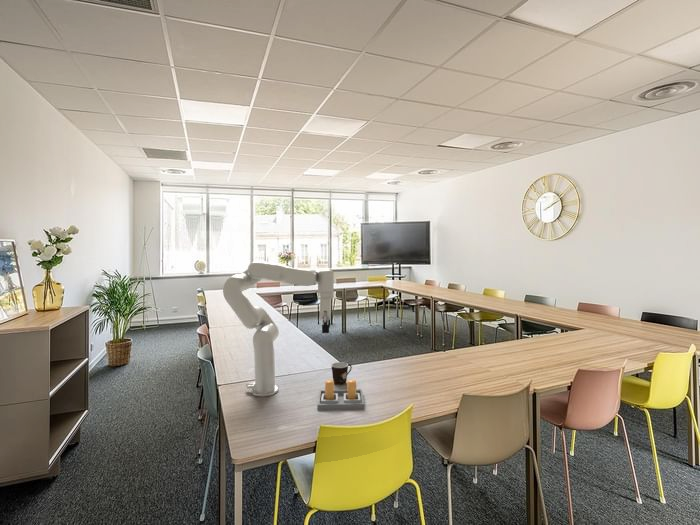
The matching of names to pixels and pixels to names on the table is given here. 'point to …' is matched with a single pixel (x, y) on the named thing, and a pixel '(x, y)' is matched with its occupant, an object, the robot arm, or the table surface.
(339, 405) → the grey pin holder tray
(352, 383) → the pin
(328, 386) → the pin
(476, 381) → the table surface
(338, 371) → the coffee mug
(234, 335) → the table surface
